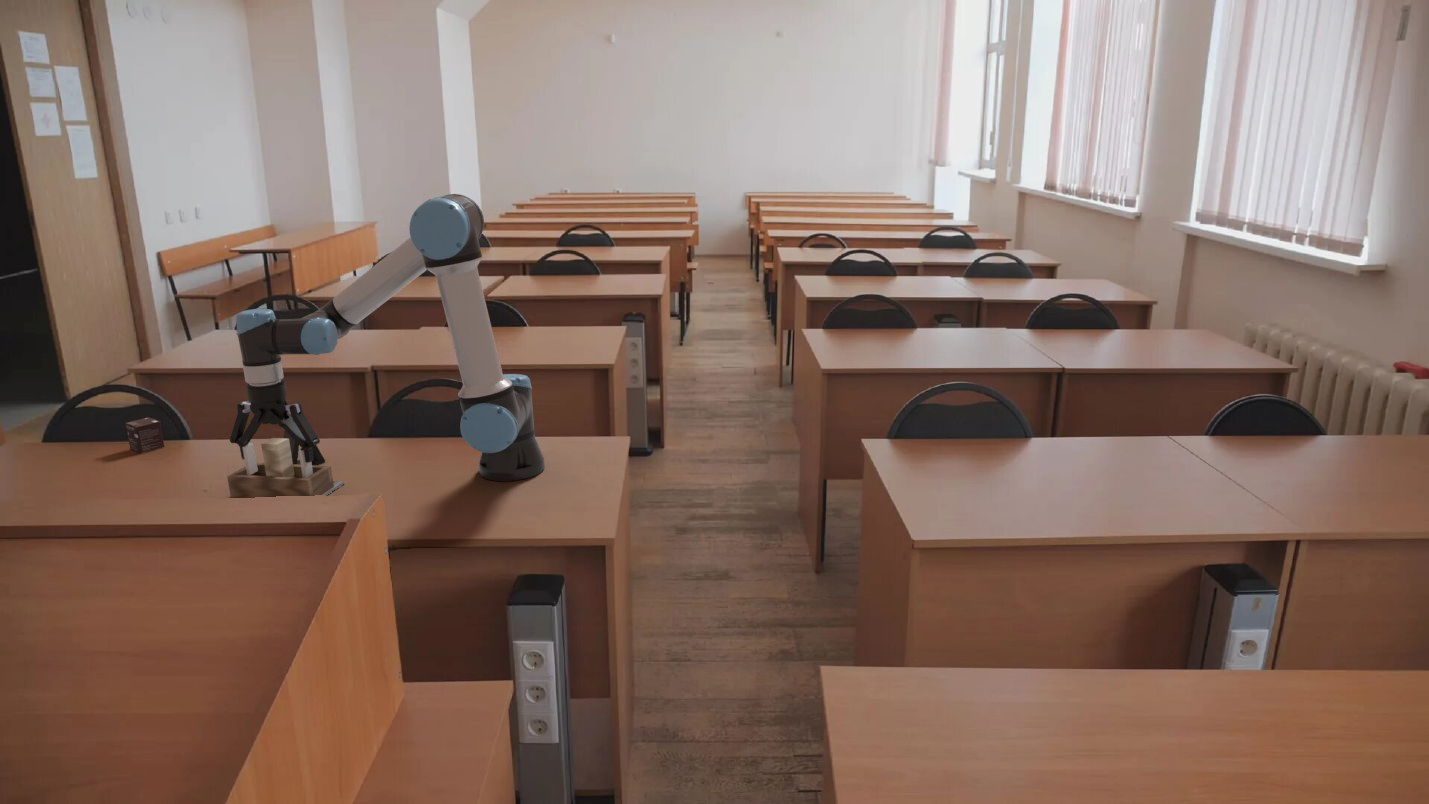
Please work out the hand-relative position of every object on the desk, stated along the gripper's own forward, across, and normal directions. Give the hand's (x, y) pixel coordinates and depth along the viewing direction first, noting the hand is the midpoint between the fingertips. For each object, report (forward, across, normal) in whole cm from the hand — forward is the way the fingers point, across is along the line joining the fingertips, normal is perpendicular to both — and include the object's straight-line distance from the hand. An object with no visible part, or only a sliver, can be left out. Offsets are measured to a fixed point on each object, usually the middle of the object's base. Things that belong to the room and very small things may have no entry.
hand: (280, 474), depth 208 cm
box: (+5, +56, -25) cm, 62 cm away
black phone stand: (+5, +8, -19) cm, 21 cm away
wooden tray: (+5, 0, 0) cm, 5 cm away
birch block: (+4, 0, 0) cm, 4 cm away
